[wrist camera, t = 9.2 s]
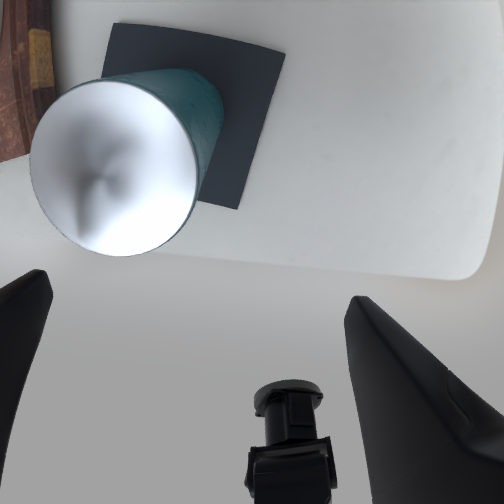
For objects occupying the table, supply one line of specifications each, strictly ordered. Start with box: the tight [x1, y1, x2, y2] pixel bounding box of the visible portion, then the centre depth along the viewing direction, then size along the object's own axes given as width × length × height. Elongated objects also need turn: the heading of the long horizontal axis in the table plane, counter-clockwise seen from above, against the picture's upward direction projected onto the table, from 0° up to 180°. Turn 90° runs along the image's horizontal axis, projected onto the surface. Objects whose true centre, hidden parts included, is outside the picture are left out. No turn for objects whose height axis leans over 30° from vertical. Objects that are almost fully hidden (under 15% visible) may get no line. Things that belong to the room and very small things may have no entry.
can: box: [30, 68, 224, 257], centre depth 12 cm, size 6×6×10 cm
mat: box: [101, 23, 286, 209], centre depth 17 cm, size 10×10×1 cm
